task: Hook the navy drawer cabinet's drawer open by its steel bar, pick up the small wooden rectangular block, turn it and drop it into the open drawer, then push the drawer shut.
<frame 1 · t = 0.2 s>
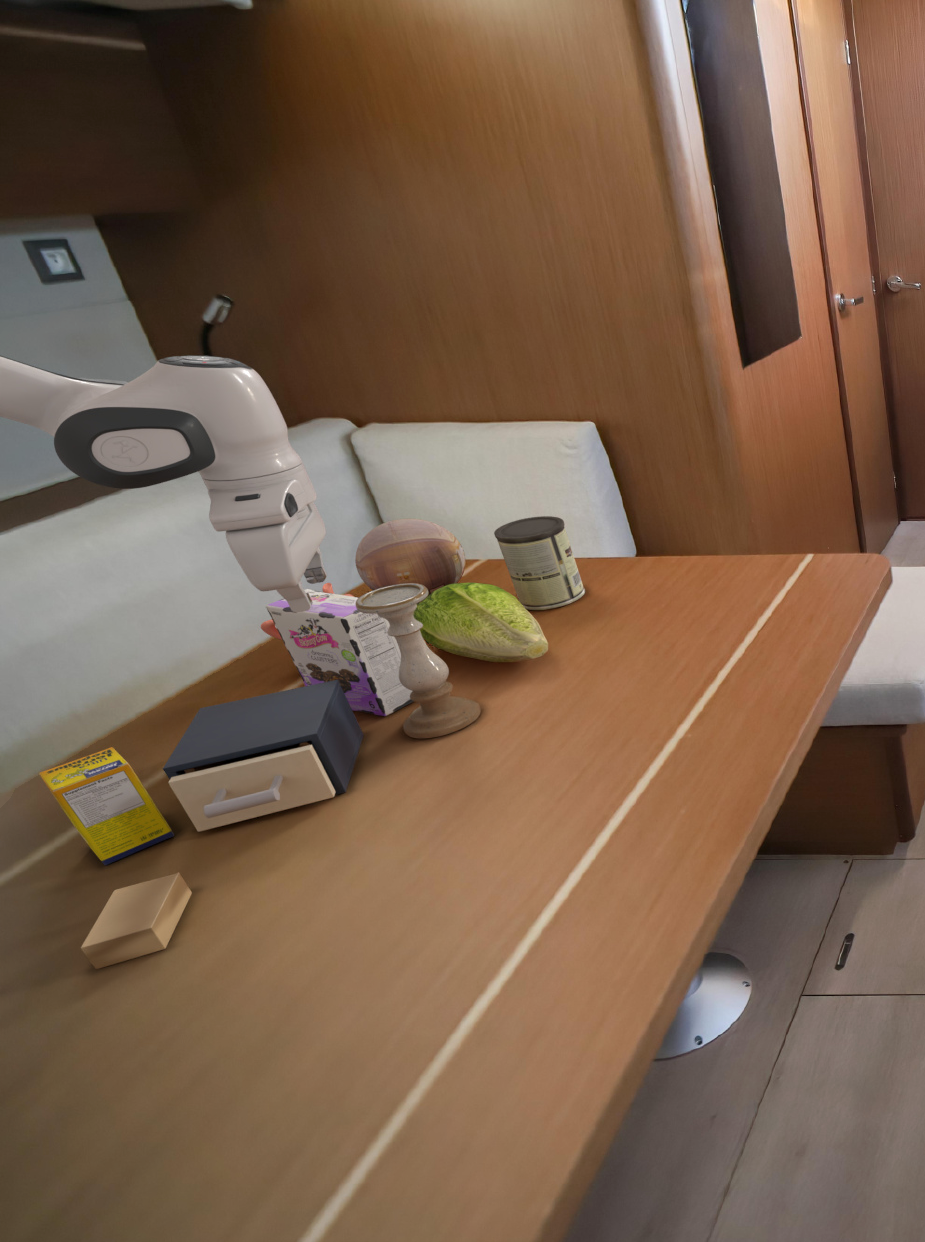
hand: (311, 594, 113), 22 cm above the table, tool pointing down, fingers open, 8 cm apart
wooden rectangular block: (146, 929, 92), on the table
lettuce: (498, 653, 144), on the table
coffee can: (553, 598, 162), on the table
drawer: (263, 770, 109), point 5 cm above the table, slide at 0.8 cm
candle holder: (444, 722, 127), on the table
candy box: (368, 701, 131), on the table
cabinet: (288, 778, 115), on the table
supplement box: (133, 843, 104), on the table
teapot: (343, 656, 143), on the table
ornament: (427, 599, 161), on the table
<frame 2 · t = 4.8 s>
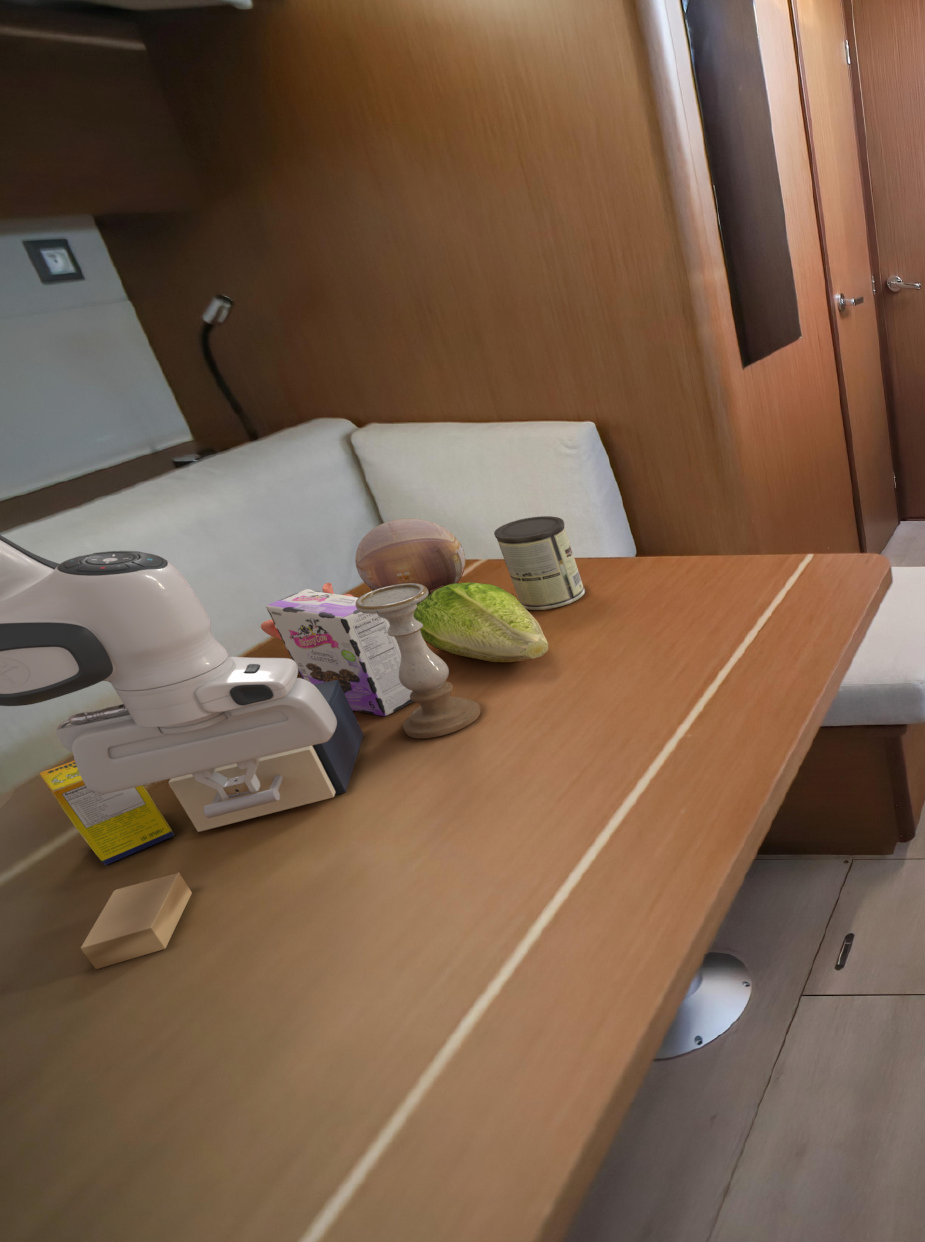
hand: (242, 792, 103), 6 cm above the table, tool pointing down, fingers closed, pressing on drawer
drawer: (263, 770, 109), point 5 cm above the table, slide at 0.8 cm, touching gripper
everything else where it was.
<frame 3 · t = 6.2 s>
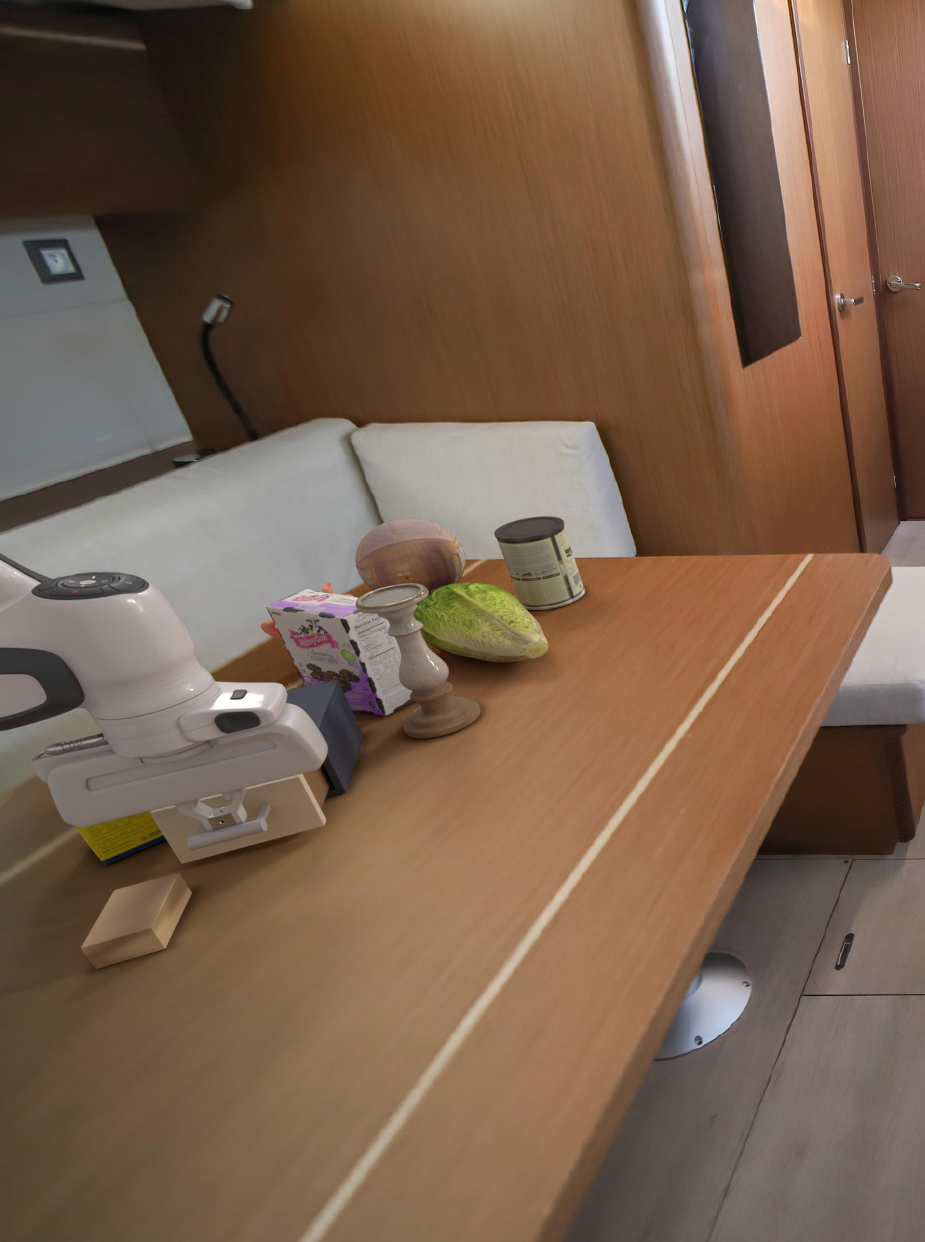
hand: (228, 823, 98), 6 cm above the table, tool pointing down, fingers closed, pressing on drawer
drawer: (250, 798, 104), point 5 cm above the table, slide at 7.0 cm, touching gripper
everything else where it was.
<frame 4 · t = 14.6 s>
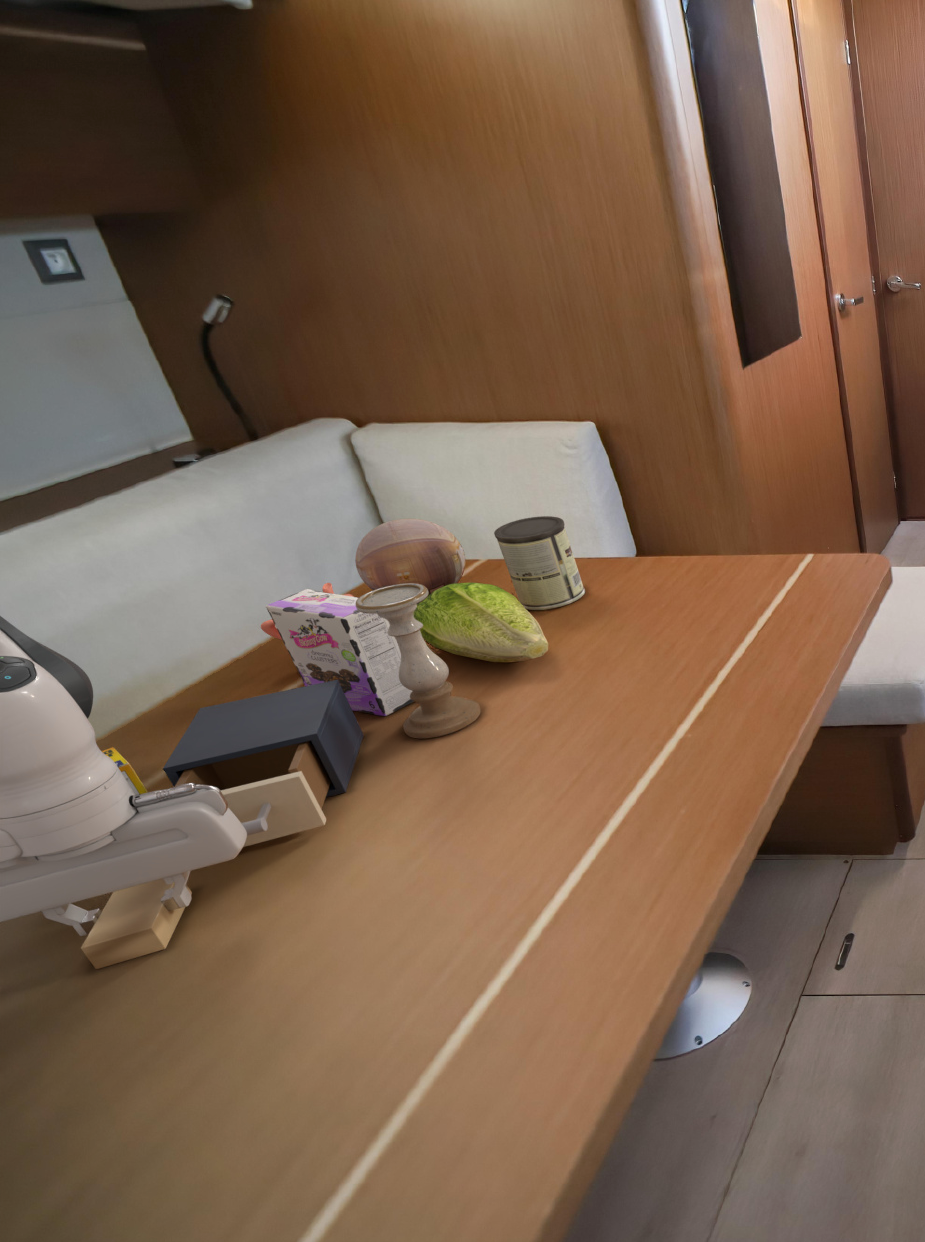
hand: (138, 917, 92), 2 cm above the table, tool pointing down, fingers closed on wooden rectangular block, 5 cm apart
wooden rectangular block: (146, 929, 92), on the table, touching gripper
drawer: (251, 798, 104), point 5 cm above the table, slide at 6.9 cm
everything else where it was.
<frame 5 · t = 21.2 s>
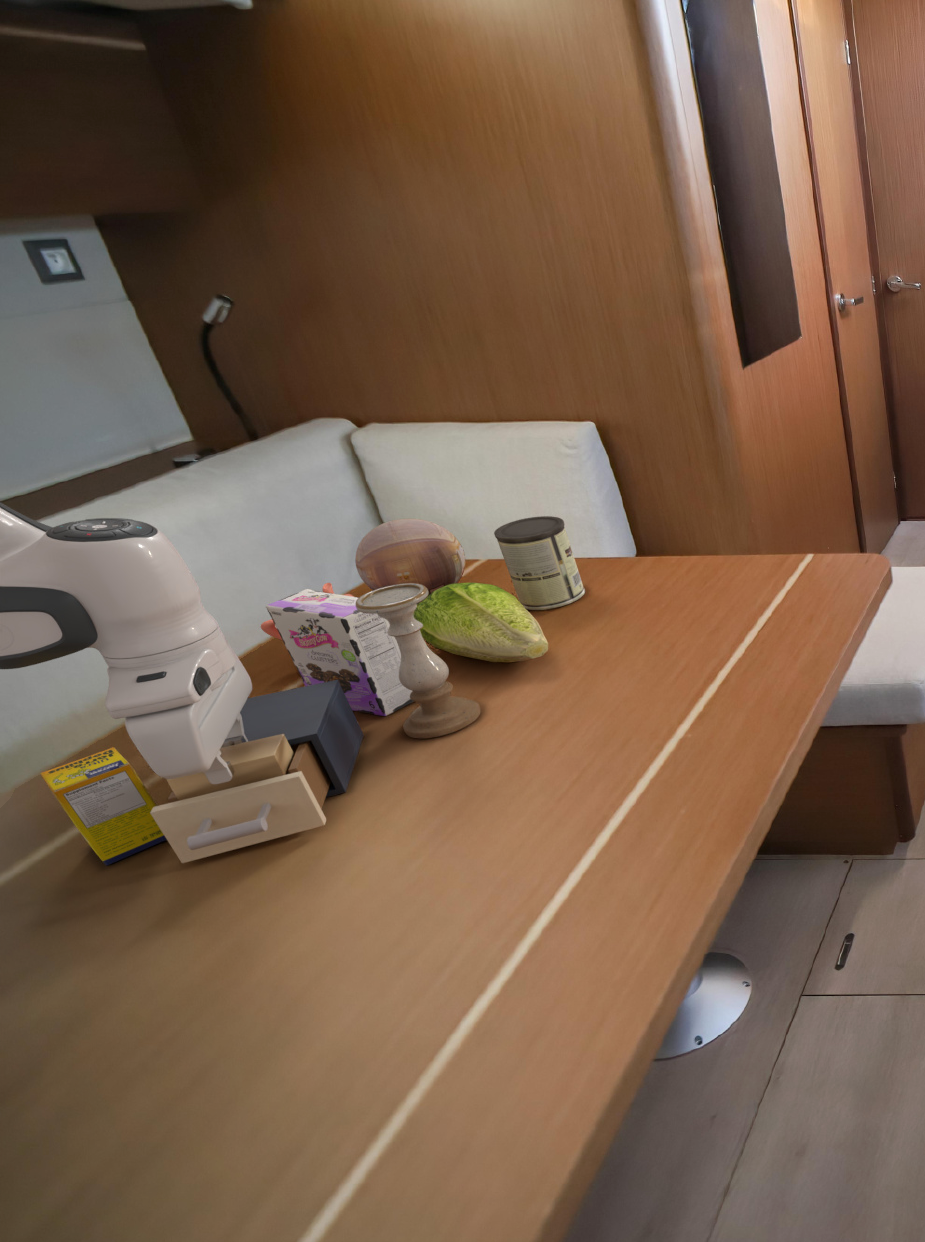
hand: (231, 765, 102), 9 cm above the table, tool pointing down, fingers closed on wooden rectangular block, 5 cm apart
wooden rectangular block: (238, 776, 103), point 8 cm above the table, touching gripper
everything else where it was.
when the fingers open (10 cm above the table, at t = 26.9 s): wooden rectangular block drops 6 cm, resting on drawer.
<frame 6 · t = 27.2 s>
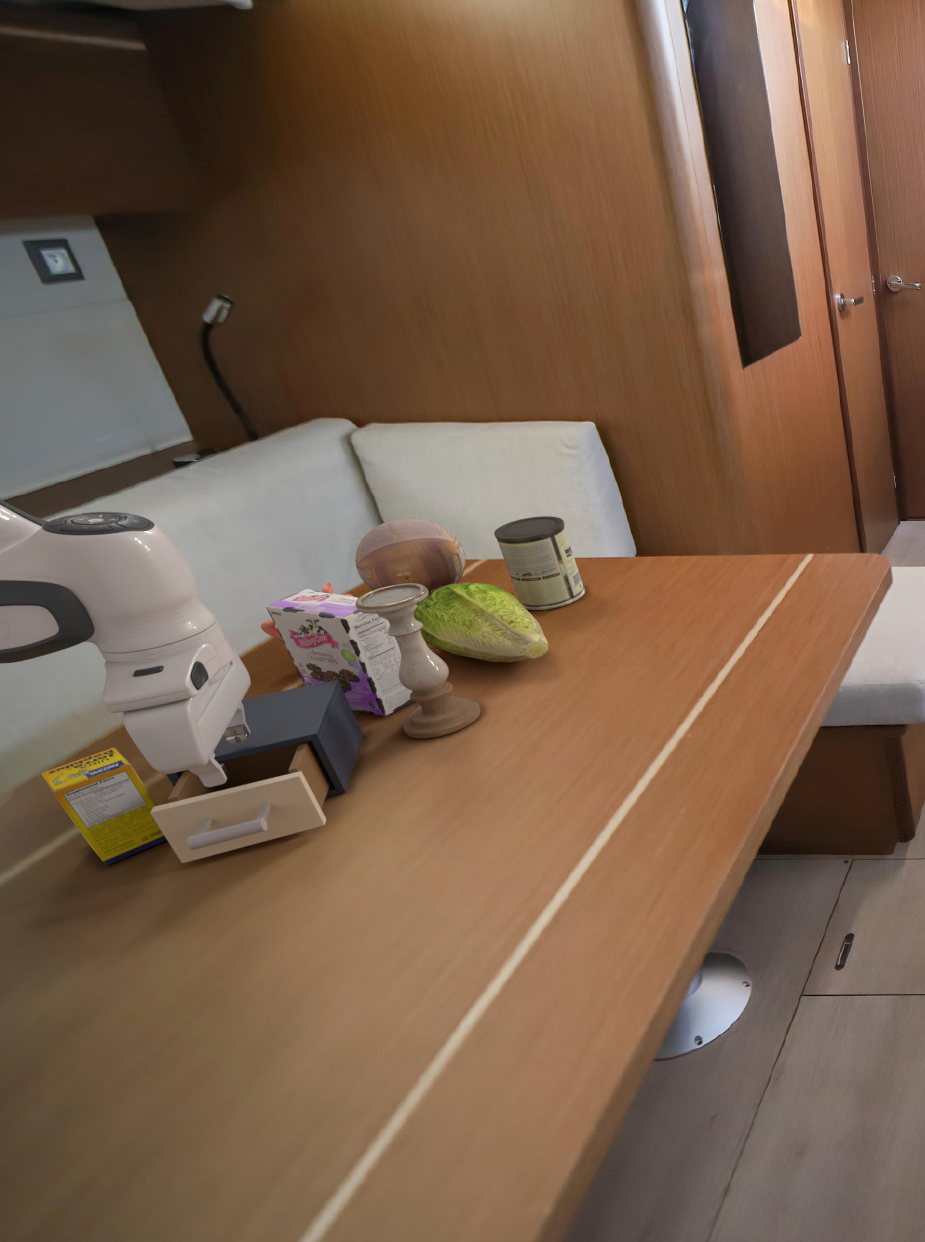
hand: (229, 760, 102), 10 cm above the table, tool pointing down, fingers open, 8 cm apart
wooden rectangular block: (261, 814, 106), point 2 cm above the table, touching drawer
drawer: (251, 798, 104), point 5 cm above the table, slide at 6.9 cm, touching wooden rectangular block
everything else where it was.
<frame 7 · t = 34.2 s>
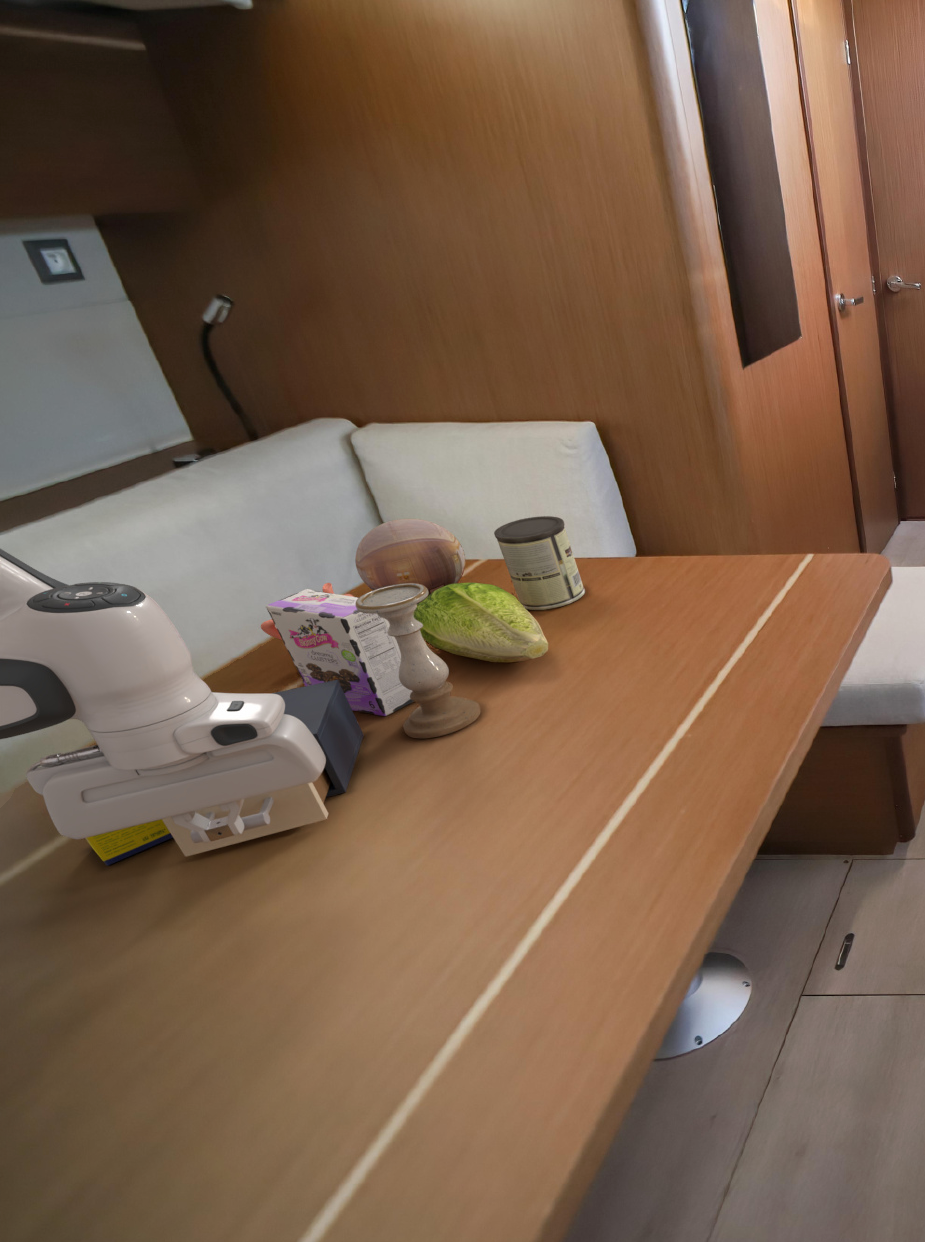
hand: (225, 835, 97), 6 cm above the table, tool pointing down, fingers closed, pressing on drawer
wooden rectangular block: (263, 808, 106), point 2 cm above the table, touching drawer
drawer: (253, 792, 105), point 5 cm above the table, slide at 5.6 cm, touching wooden rectangular block, gripper
everything else where it was.
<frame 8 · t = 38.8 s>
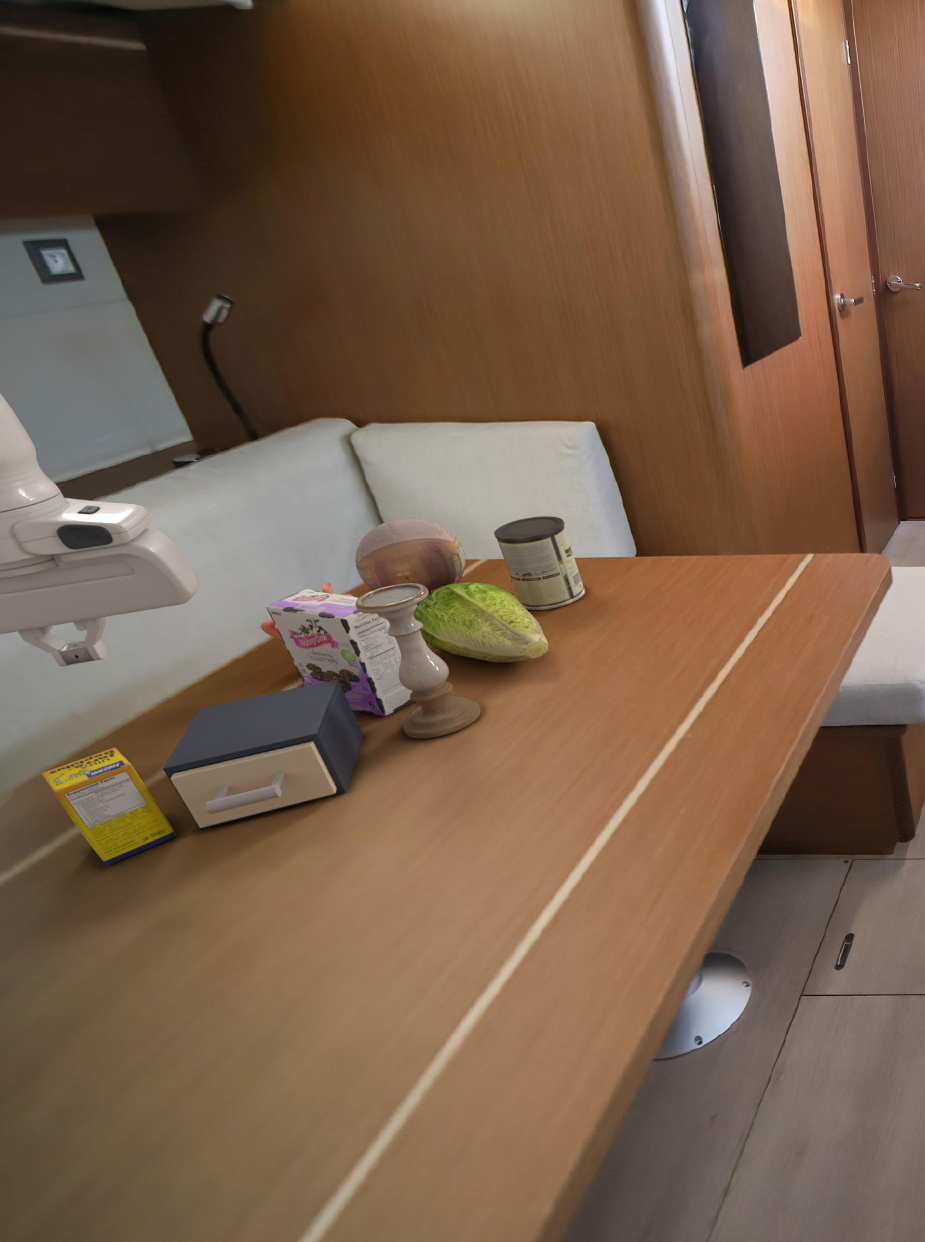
hand: (85, 660, 89), 27 cm above the table, tool pointing down, fingers closed
wooden rectangular block: (274, 783, 111), point 2 cm above the table, touching drawer
drawer: (265, 767, 110), point 5 cm above the table, slide at 0.0 cm, touching wooden rectangular block
everything else where it was.
at the end: drawer pulled out 7.0 cm at the most during the clip, back to where it started at the end; wooden rectangular block inside the target area in the cabinet (4.0 cm from its centre), point 2.0 cm above the cabinet's base; drawer slide at 0.0 cm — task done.
